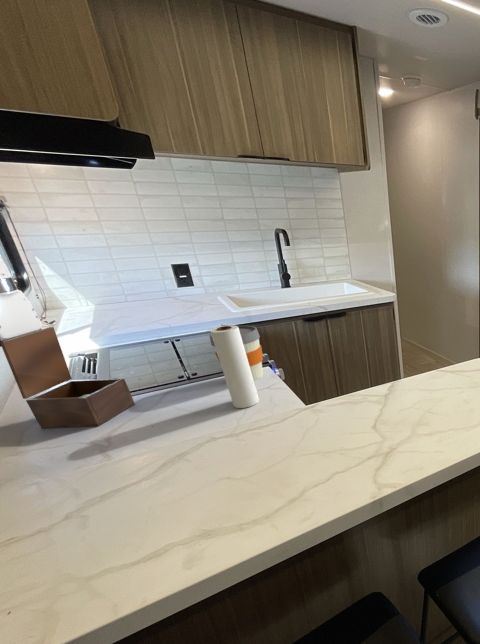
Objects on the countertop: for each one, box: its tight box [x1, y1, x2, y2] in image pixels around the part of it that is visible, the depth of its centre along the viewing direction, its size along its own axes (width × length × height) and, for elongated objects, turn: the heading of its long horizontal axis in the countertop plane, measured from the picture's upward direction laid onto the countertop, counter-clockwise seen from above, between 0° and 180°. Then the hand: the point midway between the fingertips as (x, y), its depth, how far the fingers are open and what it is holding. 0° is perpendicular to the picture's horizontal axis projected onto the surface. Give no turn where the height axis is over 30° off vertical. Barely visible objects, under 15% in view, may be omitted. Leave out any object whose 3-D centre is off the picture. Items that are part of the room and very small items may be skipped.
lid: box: [0, 326, 73, 400], centre depth 97 cm, size 14×12×1 cm
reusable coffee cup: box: [208, 325, 264, 382], centre depth 122 cm, size 13×13×15 cm
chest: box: [25, 378, 136, 429], centre depth 102 cm, size 14×12×8 cm
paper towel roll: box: [209, 324, 260, 409], centre depth 105 cm, size 7×6×21 cm
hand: (31, 363), depth 97 cm, fingers closed
